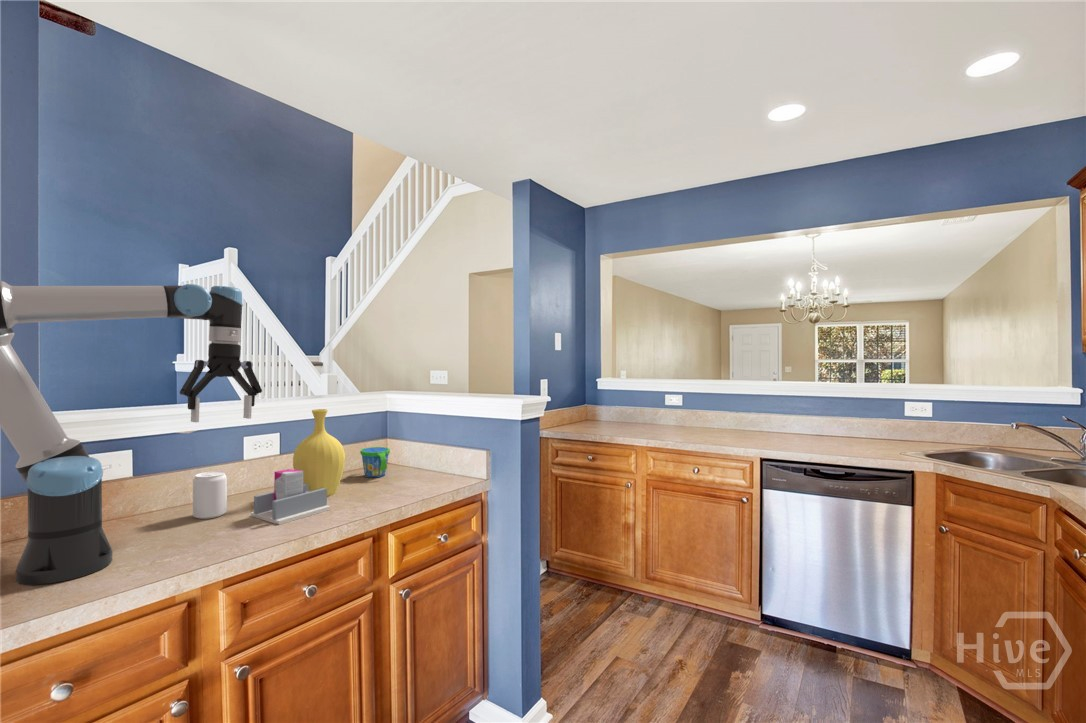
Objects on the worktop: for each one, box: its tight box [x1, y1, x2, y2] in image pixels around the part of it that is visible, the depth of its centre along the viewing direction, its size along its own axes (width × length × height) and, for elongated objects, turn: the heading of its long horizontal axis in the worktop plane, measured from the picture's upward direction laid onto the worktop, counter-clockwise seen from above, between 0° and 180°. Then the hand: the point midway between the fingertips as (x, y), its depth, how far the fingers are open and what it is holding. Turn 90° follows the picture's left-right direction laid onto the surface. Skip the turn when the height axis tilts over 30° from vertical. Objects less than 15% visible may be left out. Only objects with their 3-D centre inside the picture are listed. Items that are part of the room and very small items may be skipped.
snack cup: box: [359, 446, 391, 479], centre depth 194 cm, size 16×10×10 cm
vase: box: [292, 408, 346, 497], centre depth 169 cm, size 16×16×28 cm
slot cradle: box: [250, 484, 331, 526], centre depth 149 cm, size 16×14×6 cm
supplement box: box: [273, 468, 303, 501], centre depth 149 cm, size 6×6×12 cm
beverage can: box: [192, 470, 228, 520], centre depth 146 cm, size 8×8×12 cm
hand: (222, 420), depth 140 cm, fingers open, 13 cm apart
